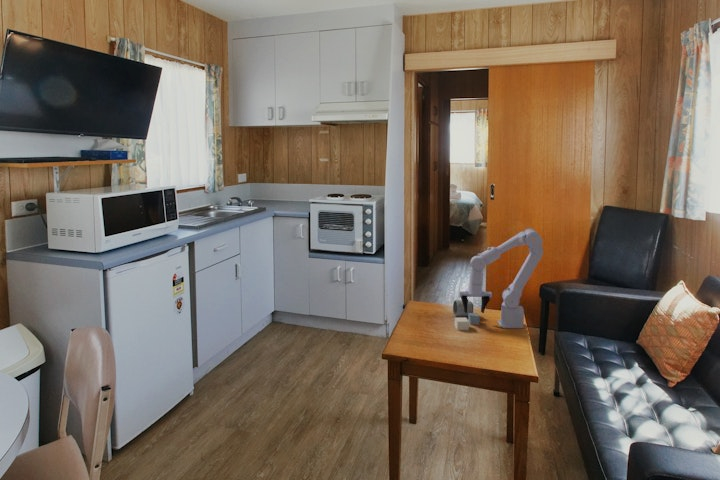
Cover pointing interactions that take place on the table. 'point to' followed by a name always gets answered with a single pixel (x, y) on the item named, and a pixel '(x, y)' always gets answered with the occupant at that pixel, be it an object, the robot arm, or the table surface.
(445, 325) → the table surface
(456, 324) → the cream block
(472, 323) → the blue cube
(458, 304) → the ceramic mug
